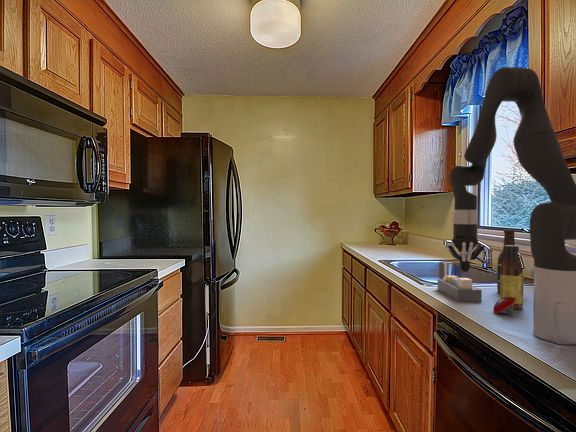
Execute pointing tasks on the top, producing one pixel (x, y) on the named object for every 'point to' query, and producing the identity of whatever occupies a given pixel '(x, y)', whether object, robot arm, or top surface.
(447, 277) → the ochre key
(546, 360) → the top surface
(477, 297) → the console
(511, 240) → the beer bottle
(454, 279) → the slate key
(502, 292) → the sauce bottle
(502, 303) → the button
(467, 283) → the ivory key
